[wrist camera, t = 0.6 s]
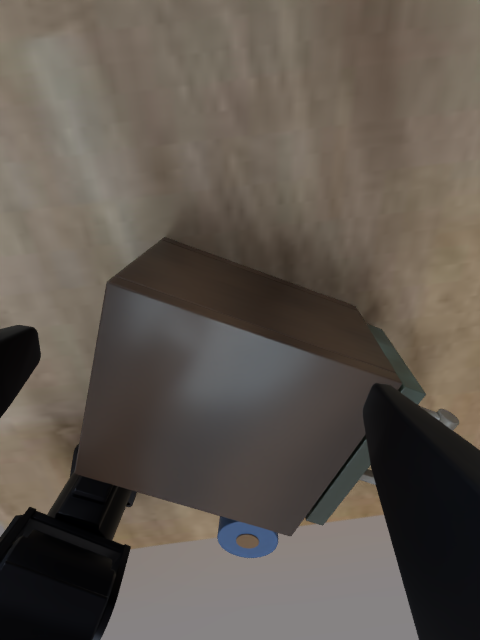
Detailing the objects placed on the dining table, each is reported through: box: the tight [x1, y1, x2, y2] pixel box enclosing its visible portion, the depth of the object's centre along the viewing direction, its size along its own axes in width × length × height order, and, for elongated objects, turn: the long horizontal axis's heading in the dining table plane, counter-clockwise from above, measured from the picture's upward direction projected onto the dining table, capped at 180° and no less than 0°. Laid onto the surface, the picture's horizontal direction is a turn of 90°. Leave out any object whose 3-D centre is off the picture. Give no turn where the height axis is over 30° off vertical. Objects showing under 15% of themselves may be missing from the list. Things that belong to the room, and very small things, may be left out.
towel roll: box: [218, 516, 278, 558], centre depth 28 cm, size 5×5×6 cm
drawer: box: [306, 324, 459, 525], centre depth 21 cm, size 17×11×7 cm, turn 71°
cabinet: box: [74, 237, 402, 536], centre depth 21 cm, size 14×13×9 cm
